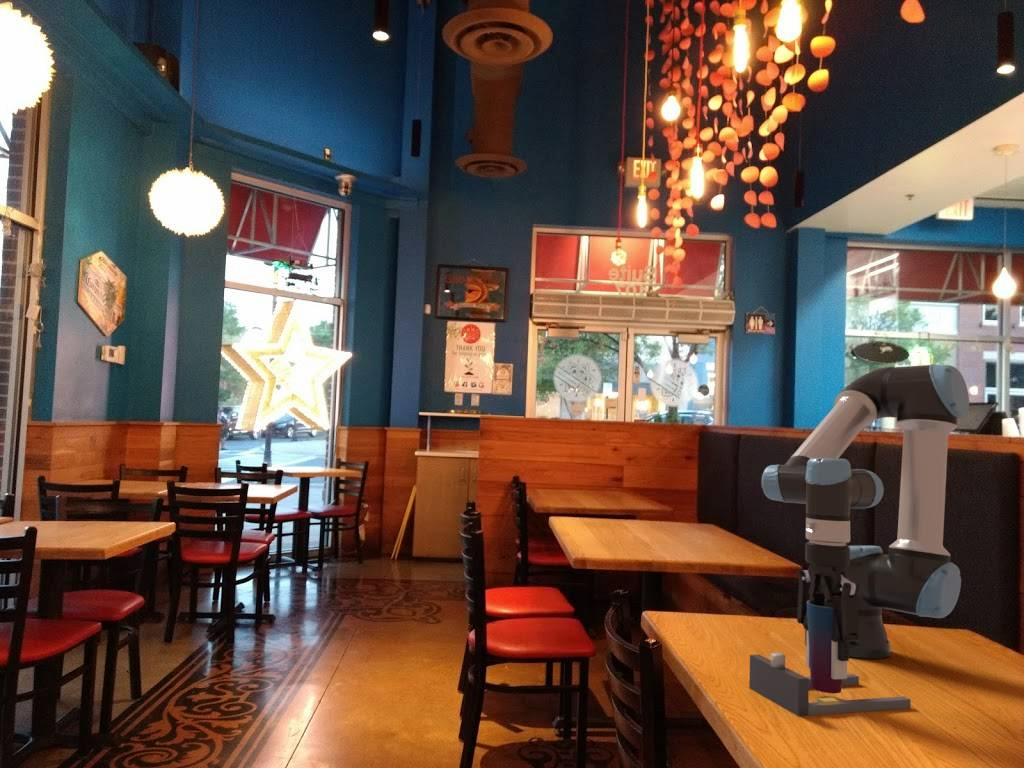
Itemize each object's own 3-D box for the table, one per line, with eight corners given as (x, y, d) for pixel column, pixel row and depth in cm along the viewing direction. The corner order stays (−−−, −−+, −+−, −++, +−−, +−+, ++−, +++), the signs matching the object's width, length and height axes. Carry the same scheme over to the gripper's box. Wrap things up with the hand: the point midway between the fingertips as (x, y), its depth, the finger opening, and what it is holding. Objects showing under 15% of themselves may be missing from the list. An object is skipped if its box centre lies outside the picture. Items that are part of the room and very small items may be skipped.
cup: (851, 697, 129) (851, 609, 130) (809, 692, 130) (810, 606, 131) (841, 684, 135) (842, 601, 136) (802, 680, 137) (803, 598, 138)
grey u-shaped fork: (853, 681, 143) (853, 639, 143) (910, 708, 129) (910, 661, 130) (748, 688, 136) (748, 643, 137) (797, 716, 123) (797, 667, 123)
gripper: (777, 535, 143) (775, 657, 141) (847, 550, 124) (846, 691, 123) (810, 535, 145) (808, 656, 143) (883, 550, 127) (883, 689, 125)
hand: (826, 672), depth 133 cm, fingers closed on cup, 6 cm apart
